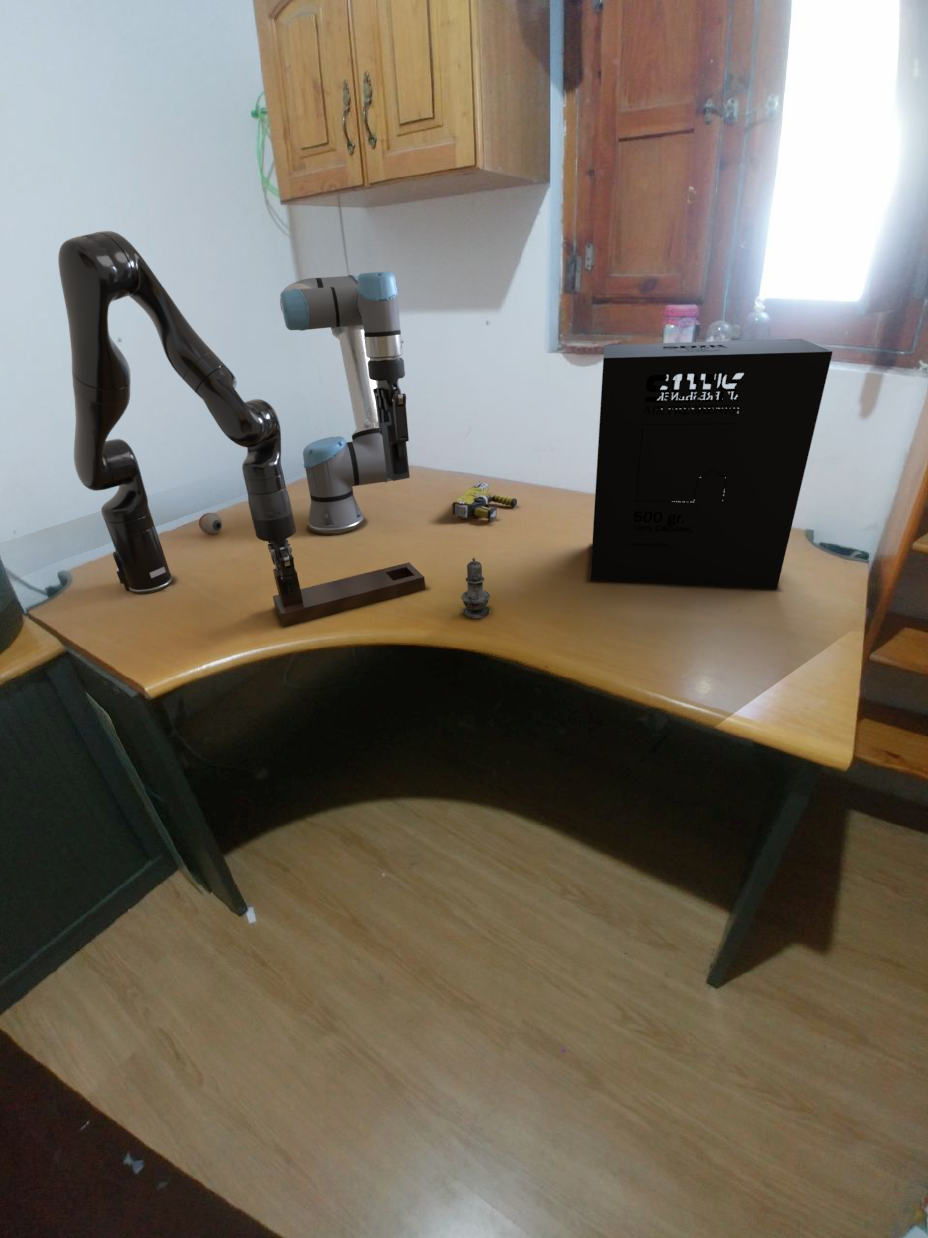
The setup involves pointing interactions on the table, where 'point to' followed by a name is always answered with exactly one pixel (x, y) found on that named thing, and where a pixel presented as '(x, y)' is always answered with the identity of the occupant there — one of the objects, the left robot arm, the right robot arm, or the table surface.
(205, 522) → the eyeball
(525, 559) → the table surface
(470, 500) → the toy gun
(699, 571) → the cardboard box
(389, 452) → the grey peg
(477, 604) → the grey chess piece
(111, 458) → the left robot arm
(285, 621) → the walnut plank
